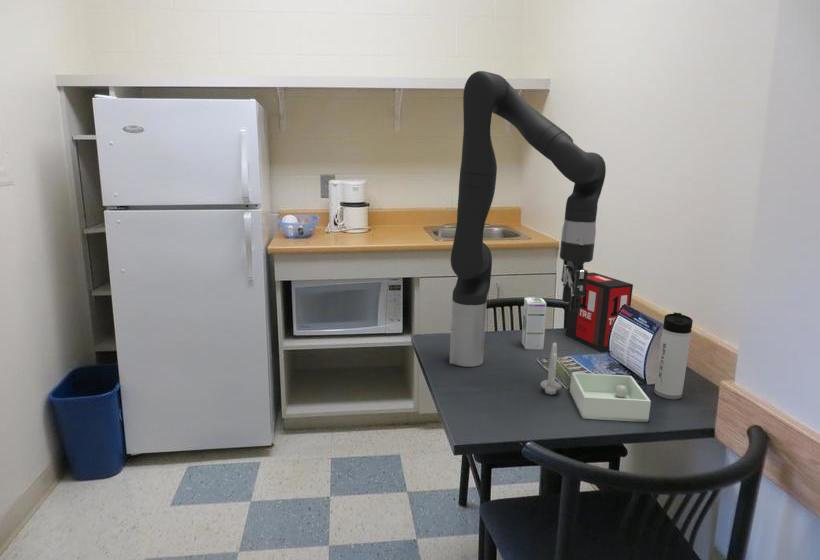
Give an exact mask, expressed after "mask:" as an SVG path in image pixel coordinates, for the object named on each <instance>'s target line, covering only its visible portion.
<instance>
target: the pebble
mask: <svg viewBox="0 0 820 560" xmlns="http://www.w3.org/2000/svg"><path fill="white" fill-rule="evenodd" d="M615 394H616V395H617V396H618V397H621V398H623V397H625V396H627V394H628V389H627V387H626V386H624V385H618V386H617V387H616V388H615Z"/></svg>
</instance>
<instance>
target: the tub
mask: <svg viewBox="0 0 820 560" xmlns="http://www.w3.org/2000/svg"><path fill="white" fill-rule="evenodd" d="M618 385H624V386H626V387H627V389H628V394H627V396H625V397H623V398H621V397H618V396H617V395H616V394H615V388H616V387H617V386H618ZM569 394H570V395H571V397H572V399H573V402H574V404H575V406H576V409H577V410H578V412H579V413H580V417H581V418H582V419H583V420H584V419H587V420H603V421H604V420H605V421H619V422H635V423H637V422H638V423H649V417H650V410H651V403H652V401H651V400H650V398H649V396H648V395H647V394H646V393H645V391H644V390H643V389H642V388H641V387H640V385H639V384H638V382H637V381H636V380H635V379H634V377H633V376H632V375H623V374H605V373H604V374H603V373H584V372H571V377H570V385H569Z"/></svg>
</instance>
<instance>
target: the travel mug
mask: <svg viewBox="0 0 820 560" xmlns="http://www.w3.org/2000/svg"><path fill="white" fill-rule="evenodd" d="M693 322H694V320H693V318H691V317H690V316H687V315H685V314H682V312H673V313H668V314H665V315H664V318H663V325H662V332H661V340H660V347H659V353H658V354H659V355H658V361H657V362H658V363H657V369H656V374H655V375H656V376H655V383H654V389H653V392H654V394H655V395H657V396H658V397H660V398H663V399H666V400H679V399H681V398H682V397H683V389H684V384H685V377H686V371H687V365H688V359H689V350H690V343H691V336H692V328H693Z"/></svg>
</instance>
